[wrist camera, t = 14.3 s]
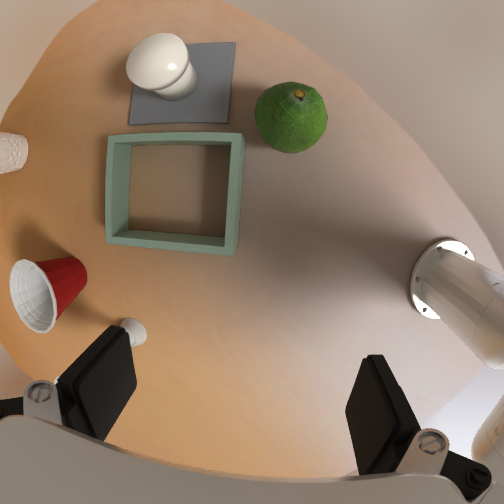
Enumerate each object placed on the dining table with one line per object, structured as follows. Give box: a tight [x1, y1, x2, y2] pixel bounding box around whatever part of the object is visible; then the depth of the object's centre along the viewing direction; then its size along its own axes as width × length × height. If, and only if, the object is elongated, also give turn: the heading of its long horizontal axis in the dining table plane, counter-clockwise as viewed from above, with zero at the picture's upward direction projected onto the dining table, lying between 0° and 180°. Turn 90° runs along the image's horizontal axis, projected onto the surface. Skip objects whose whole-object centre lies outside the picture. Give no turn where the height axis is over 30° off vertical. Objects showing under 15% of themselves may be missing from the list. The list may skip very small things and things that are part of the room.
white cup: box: [0, 132, 28, 174], centre depth 32 cm, size 8×8×10 cm
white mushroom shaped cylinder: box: [126, 33, 198, 101], centre depth 28 cm, size 7×7×9 cm
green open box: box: [105, 132, 246, 256], centre depth 35 cm, size 17×14×5 cm
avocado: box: [255, 82, 328, 153], centre depth 28 cm, size 8×8×12 cm
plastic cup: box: [9, 257, 87, 333], centre depth 36 cm, size 11×11×12 cm
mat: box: [129, 42, 236, 125], centre depth 33 cm, size 14×12×1 cm
